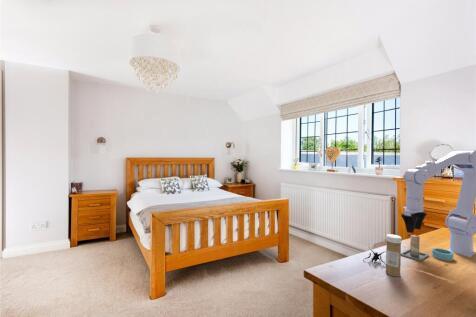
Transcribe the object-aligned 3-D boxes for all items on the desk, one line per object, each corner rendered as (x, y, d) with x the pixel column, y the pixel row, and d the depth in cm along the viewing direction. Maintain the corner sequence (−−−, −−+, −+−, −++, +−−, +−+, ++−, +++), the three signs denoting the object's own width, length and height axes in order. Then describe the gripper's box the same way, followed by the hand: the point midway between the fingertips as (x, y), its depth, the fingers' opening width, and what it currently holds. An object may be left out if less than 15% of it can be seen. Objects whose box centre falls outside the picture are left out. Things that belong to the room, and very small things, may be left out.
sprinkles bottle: (403, 274, 86) (404, 236, 86) (396, 278, 84) (397, 238, 84) (389, 269, 90) (390, 232, 90) (382, 272, 88) (383, 235, 87)
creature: (385, 273, 90) (388, 261, 96) (384, 259, 89) (388, 248, 95) (361, 266, 95) (366, 255, 101) (361, 253, 94) (366, 243, 100)
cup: (435, 253, 105) (435, 246, 105) (455, 259, 100) (455, 252, 100) (429, 257, 101) (429, 250, 101) (449, 263, 96) (450, 255, 96)
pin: (411, 253, 104) (412, 234, 103) (420, 256, 101) (420, 236, 101) (408, 255, 102) (409, 235, 102) (417, 257, 99) (418, 238, 99)
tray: (409, 251, 107) (409, 249, 107) (428, 257, 101) (428, 254, 101) (399, 256, 102) (400, 253, 102) (420, 262, 96) (420, 259, 96)
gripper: (410, 195, 111) (409, 225, 111) (396, 198, 102) (395, 231, 102) (429, 197, 105) (428, 229, 105) (416, 201, 96) (415, 235, 97)
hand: (413, 230), depth 103 cm, fingers open, 7 cm apart
